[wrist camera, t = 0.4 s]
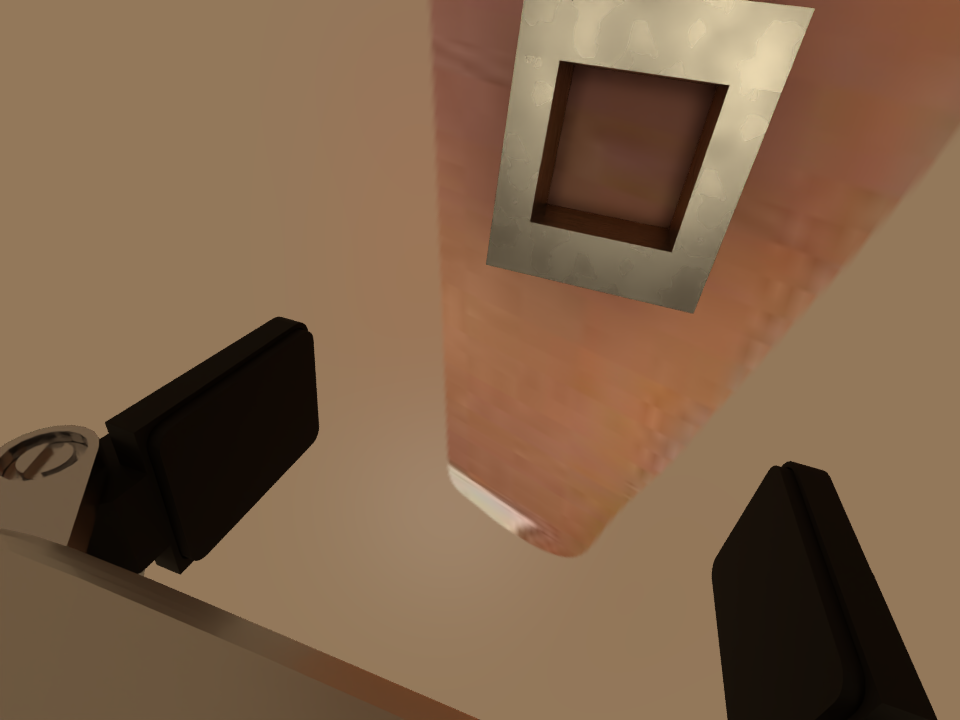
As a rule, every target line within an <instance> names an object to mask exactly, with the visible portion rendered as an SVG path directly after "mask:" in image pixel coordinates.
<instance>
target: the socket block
mask: <svg viewBox="0 0 960 720" xmlns="http://www.w3.org/2000/svg"><path fill="white" fill-rule="evenodd" d="M814 9H815V8H806V7H798V6H789V5H780V4H771V3H762V2H754V1H745V0H524V3H523V10H522V16H521V23H520V30H519V37H518V44H517V51H516V58H515V65H514V72H513V79H512V86H511V93H510V100H509V107H508V114H507V121H506V128H505V135H504V142H503V149H502V156H501V163H500V170H499V177H498V184H497V191H496V198H495V205H494V212H493V219H492V226H491V233H490V240H489V247H488V254H487V261H486V265H490V266H494V267H499V268H503V269H507V270H511V271H515V272H520V273H524V274H528V275H532V276H537V277H541V278H545V279H549V280H553V281H558V282H562V283H566V284H570V285H575V286H579V287H583V288H587V289H591V290H596V291H600V292H604V293H608V294H613V295H617V296H621V297H625V298H629V299H634V300H638V301H642V302H646V303H651V304H655V305H659V306H663V307H667V308H672V309H676V310H680V311H684V312H689V313H694V311H695V308H696V306H697V303H698V301H699V298H700V296H701V293H702V291H703V288H704V286H705V283H706V281H707V278H708V276H709V273H710V271H711V268H712V266H713V263H714V261H715V258H716V256H717V253H718V250H719V248H720V245H721V243H722V240H723V238H724V235H725V233H726V230H727V228H728V225H729V223H730V220H731V218H732V215H733V213H734V210H735V208H736V205H737V203H738V200H739V198H740V195H741V193H742V190H743V188H744V185H745V183H746V180H747V178H748V175H749V173H750V170H751V168H752V165H753V163H754V160H755V158H756V155H757V153H758V150H759V148H760V145H761V142H762V140H763V137H764V135H765V132H766V130H767V127H768V125H769V122H770V120H771V117H772V115H773V112H774V110H775V107H776V105H777V102H778V100H779V97H780V95H781V92H782V90H783V87H784V85H785V82H786V80H787V77H788V75H789V72H790V70H791V67H792V65H793V62H794V60H795V57H796V55H797V52H798V50H799V47H800V45H801V42H802V39H803V37H804V34H805V32H806V29H807V27H808V24H809V22H810V19H811V17H812V14H813V12H814ZM574 65H578V66H585V67H592V68H599V69H605V70H612V71H619V72H626V73H632V74H639V75H646V76H653V77H660V78H666V79H673V80H680V81H687V82H693V83H700V84H707V85H714V86H717V88H716V91H715V94H714V97H713V100H712V103H711V106H710V109H709V112H708V115H707V118H706V121H705V124H704V127H703V130H702V133H701V136H700V139H699V142H698V145H697V148H696V151H695V154H694V157H693V160H692V163H691V165H690V168H689V171H688V174H687V177H686V180H685V183H684V186H683V189H682V192H681V195H680V198H679V201H678V204H677V207H676V210H675V213H674V216H673V219H672V222H671V225H670V228H669V229H666V228H661V227H656V226H652V225H647V224H642V223H637V222H632V221H627V220H623V219H618V218H613V217H608V216H603V215H598V214H593V213H589V212H584V211H579V210H574V209H569V208H564V207H559V206H555V205H550V204H547V201H548V196H549V191H550V186H551V181H552V176H553V171H554V166H555V161H556V155H557V150H558V145H559V140H560V135H561V130H562V125H563V120H564V115H565V110H566V105H567V100H568V95H569V90H570V85H571V80H572V75H573V70H574Z"/></svg>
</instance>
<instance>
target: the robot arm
mask: <svg viewBox="0 0 960 720" xmlns="http://www.w3.org/2000/svg"><path fill="white" fill-rule="evenodd" d="M105 424H106V427H107V429H108V432H109V434H107V435H106V436H104V437H102V438H101V439H99V437H98V436H97V435H96V433H95V432H94V431H92V430H90V429H88V428H86V427H81V426H75V425H67V426H66V425H65V426H53V427H48V428H43V429H39V430H36V431H33V432H30V433H27V434H24V435H22V436H20V437H18V438H16V439H14V440H12V441H10V442H8V443H6V444H4V445H3V446H2V447H0V720H479V719H477V718H475V717H473V716H470V715H468V714H466V713H463V712H460V711H459V710H456V709H454V708H452V707H449V706H447V705H445V704H442V703H440V702H438V701H435V700H433V699H431V698H428V697H426V696H424V695H421V694H419V693H416V692H414V691H412V690H410V689H407V688H405V687H403V686H400V685H398V684H396V683H393V682H391V681H389V680H386V679H384V678H382V677H379V676H377V675H375V674H373V673H370V672H368V671H365V670H363V669H361V668H359V667H356V666H354V665H352V664H349V663H347V662H344V661H342V660H340V659H337V658H335V657H333V656H330V655H328V654H326V653H323V652H321V651H318V650H316V649H314V648H312V647H309V646H307V645H305V644H302V643H300V642H298V641H295V640H293V639H291V638H288V637H286V636H284V635H281V634H279V633H276V632H274V631H272V630H269V629H267V628H265V627H262V626H260V625H258V624H255V623H253V622H250V621H248V620H246V619H243V618H241V617H239V616H236V615H234V614H232V613H229V612H227V611H224V610H222V609H220V608H217V607H215V606H212V605H210V604H208V603H205V602H203V601H201V600H199V599H196V598H194V597H191V596H189V595H187V594H184V593H182V592H179V591H177V590H175V589H172V588H170V587H168V586H165V585H163V584H161V583H158V582H156V581H154V580H151V579H148V578H146V577H144V571H145V568H147V567H148V566H149V565H150V564H151V563H152V562H153V561H154V560H155V561H156V564H157V565H159V566H161V567H164V568H166V569H168V570H171V571H173V572H175V573H178V574H181V573H182V572H183V571H184V570H185V569H186V568H187V567H188V566H189V565H190V564H191V563H192V562H193V561H194V560H195V561H198V560H200V559H202V558H204V557H205V556H206V555H207V554H208V553H209V552H210V551H211V550H212V549H213V548H214V547H215V546H216V545H217V544H218V543H219V542H220V540H221V539H223V537H224V536H225V535H226V534H227V533H228V532H229V531H230V530H231V529H232V528H233V527H234V526H235V525H236V524H237V523H238V522H239V521H240V519H242V517H243V516H244V515H245V514H246V513H247V512H248V511H249V510H250V509H251V508H252V507H253V506H254V505H255V504H256V503H257V502H258V501H259V500H260V499H261V497H262V496H263V495H264V494H265V493H266V492H267V491H268V490H269V489H270V488H271V487H272V486H273V485H274V483H276V482H277V480H279V478H280V477H281V476H282V475H283V474H284V473H285V472H286V471H287V470H288V469H289V468H290V467H291V466H292V465H293V464H294V463H295V462H296V461H297V460H298V459H299V458H300V456H301V455H302V454H303V453H304V452H305V451H306V450H307V449H308V448H309V447H310V446H311V445H312V444H313V442H314V441H315V439H316V438H317V435H318V431H319V419H318V404H317V388H316V372H315V357H314V341H313V335H312V334H311V333H310V332H308V329H307V327H306V325H305V324H303V323H301V322H297V321H294V320H290V319H287V318H283V317H276V318H273V319H272V320H270V321H268V322H267V323H265V324H264V325H262V326H260V327H259V328H257V329H255V330H254V331H252V332H251V333H249V334H247V335H246V336H244V337H243V338H241V339H239V340H238V341H236V342H235V343H233V344H231V345H229V346H228V347H226V348H225V349H223V350H221V351H220V352H218V353H217V354H215V355H213V356H212V357H210V358H209V359H207V360H205V361H204V362H202V363H200V364H199V365H197V366H195V367H194V368H192V369H191V370H189V371H187V372H186V373H184V374H183V375H181V376H180V377H178V378H176V379H174V380H173V381H171V382H170V383H168V384H166V385H165V386H163V387H161V388H160V389H158V390H157V391H155V392H153V393H152V394H150V395H149V396H147V397H145V398H144V399H142V400H141V401H139V402H137V403H136V404H134V405H132V406H131V407H129V408H128V409H126V410H124V411H123V412H121V413H120V414H118V415H116V416H114V417H113V418H111V419H110V420H108V421H106V422H105ZM712 584H713V593H714V602H715V611H716V620H717V629H718V637H719V647H720V656H721V665H722V672H723V673H722V674H723V682H724V691H725V700H726V709H727V718H728V720H937V718H936V716H935V713H934V711H933V708H932V706H931V704H930V702H929V699H928V697H927V695H926V693H925V690H924V688H923V686H922V683H921V681H920V679H919V677H918V674H917V672H916V670H915V668H914V665H913V663H912V661H911V659H910V656H909V654H908V652H907V650H906V647H905V645H904V643H903V640H902V638H901V636H900V634H899V631H898V629H897V627H896V624H895V622H894V620H893V618H892V616H891V613H890V611H889V609H888V606H887V604H886V602H885V600H884V597H883V595H882V593H881V591H880V588H879V586H878V584H877V581H876V579H875V577H874V575H873V573H872V571H871V569H870V567H869V564H868V562H867V560H866V558H865V555H864V553H863V551H862V549H861V546H860V544H859V542H858V539H857V537H856V535H855V533H854V531H853V528H852V526H851V524H850V521H849V519H848V517H847V515H846V512H845V510H844V508H843V506H842V503H841V501H840V499H839V496H838V494H837V492H836V489H835V487H834V485H833V483H832V480H831V478H830V476H829V475H828V473H827V472H825V471H823V470H820V469H816V468H813V467H809V466H806V465H802V464H799V463H795V462H792V461H790V462H786V463H785V464H783V466H782V467H779V466H773V467H771V468H770V470H769V471H768V473H767V474H766V476H765V478H764V479H763V481H762V483H761V484H760V486H759V488H758V489H757V491H756V492H755V494H754V496H753V497H752V499H751V501H750V502H749V504H748V506H747V507H746V509H745V510H744V512H743V514H742V516H741V517H740V519H739V521H738V522H737V524H736V525H735V527H734V529H733V530H732V532H731V533H730V535H729V537H728V538H727V540H726V542H725V543H724V545H723V546H722V548H721V550H720V552H719V553H718V555H717V556H716V558H715V560H714V563H713V568H712Z"/></svg>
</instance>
